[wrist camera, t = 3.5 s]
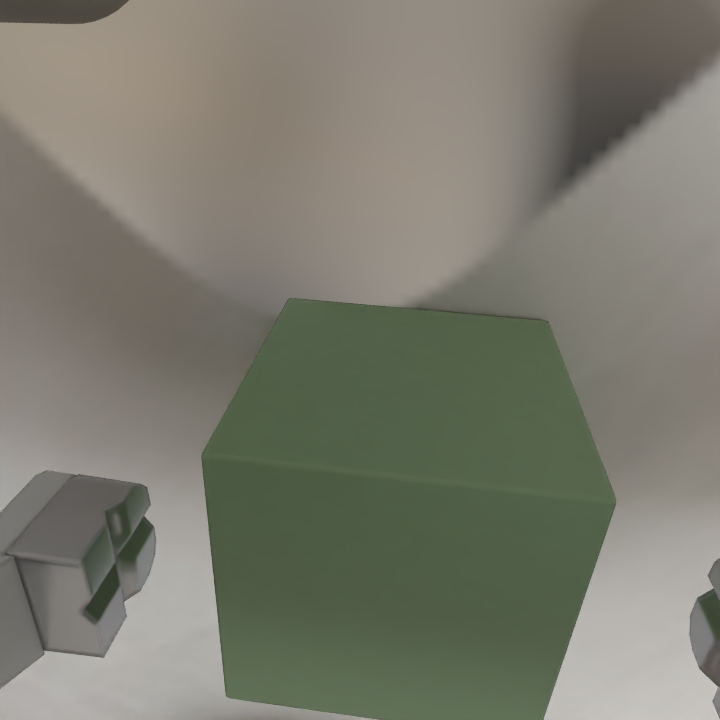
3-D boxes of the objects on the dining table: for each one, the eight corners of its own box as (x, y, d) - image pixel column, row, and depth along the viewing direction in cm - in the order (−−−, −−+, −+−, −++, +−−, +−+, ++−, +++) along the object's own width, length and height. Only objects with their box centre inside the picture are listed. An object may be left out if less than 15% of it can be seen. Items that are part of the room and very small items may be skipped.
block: (290, 492, 13) (224, 699, 9) (288, 296, 10) (199, 454, 7) (505, 517, 12) (537, 744, 8) (548, 319, 10) (620, 501, 6)
